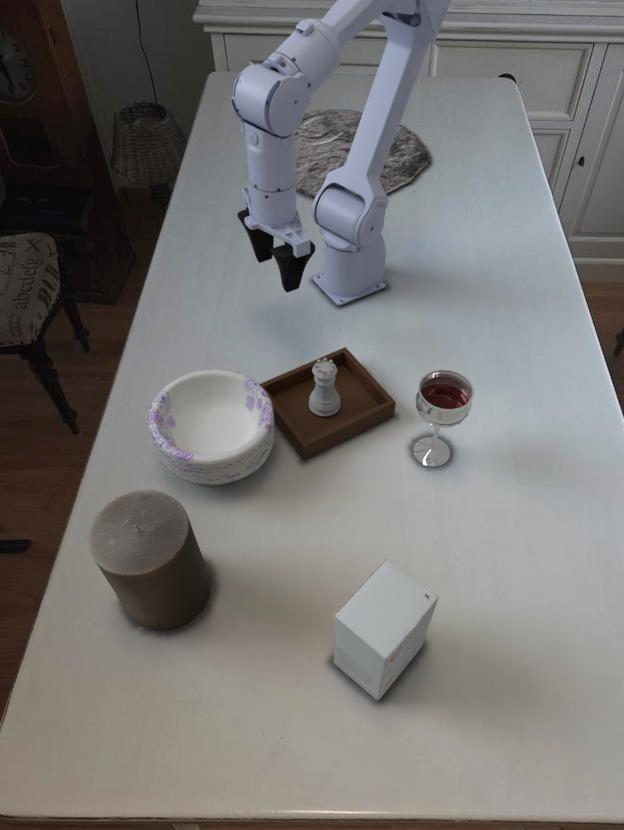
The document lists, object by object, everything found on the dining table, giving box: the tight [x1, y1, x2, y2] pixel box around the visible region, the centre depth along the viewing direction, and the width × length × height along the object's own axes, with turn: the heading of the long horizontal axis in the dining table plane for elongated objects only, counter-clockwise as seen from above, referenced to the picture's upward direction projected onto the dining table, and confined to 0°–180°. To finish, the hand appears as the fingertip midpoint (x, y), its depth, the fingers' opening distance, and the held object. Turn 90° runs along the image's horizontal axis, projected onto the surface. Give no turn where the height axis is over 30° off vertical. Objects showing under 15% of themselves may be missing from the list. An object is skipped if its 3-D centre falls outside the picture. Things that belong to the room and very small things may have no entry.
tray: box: [258, 346, 397, 461], centre depth 87 cm, size 15×13×3 cm
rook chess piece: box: [309, 358, 341, 417], centre depth 84 cm, size 4×4×8 cm
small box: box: [333, 558, 440, 701], centre depth 63 cm, size 8×6×13 cm
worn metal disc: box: [295, 109, 430, 199], centre depth 127 cm, size 33×35×1 cm
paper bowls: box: [147, 368, 276, 486], centre depth 80 cm, size 15×15×8 cm
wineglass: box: [412, 369, 475, 467], centre depth 79 cm, size 7×7×12 cm
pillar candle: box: [85, 488, 212, 632], centre depth 65 cm, size 10×10×15 cm
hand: (277, 274), depth 88 cm, fingers open, 7 cm apart
